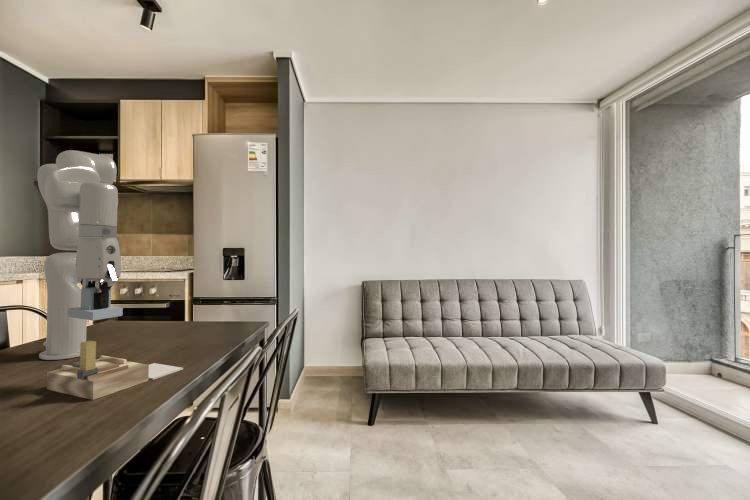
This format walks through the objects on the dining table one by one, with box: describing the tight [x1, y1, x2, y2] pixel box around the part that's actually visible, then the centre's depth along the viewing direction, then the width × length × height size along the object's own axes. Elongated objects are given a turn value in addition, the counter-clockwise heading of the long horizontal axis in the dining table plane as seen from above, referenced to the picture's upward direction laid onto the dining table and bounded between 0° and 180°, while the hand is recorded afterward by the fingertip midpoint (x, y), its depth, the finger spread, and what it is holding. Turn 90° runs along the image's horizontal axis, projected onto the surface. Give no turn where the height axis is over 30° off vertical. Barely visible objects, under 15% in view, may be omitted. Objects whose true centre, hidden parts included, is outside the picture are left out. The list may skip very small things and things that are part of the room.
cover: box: [68, 287, 124, 321], centre depth 90 cm, size 9×7×7 cm
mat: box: [148, 362, 184, 381], centre depth 99 cm, size 11×9×1 cm
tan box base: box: [46, 355, 150, 400], centre depth 89 cm, size 16×13×5 cm
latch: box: [71, 340, 98, 380], centre depth 82 cm, size 5×3×8 cm, turn 70°
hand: (95, 307), depth 90 cm, fingers closed on cover, 3 cm apart
